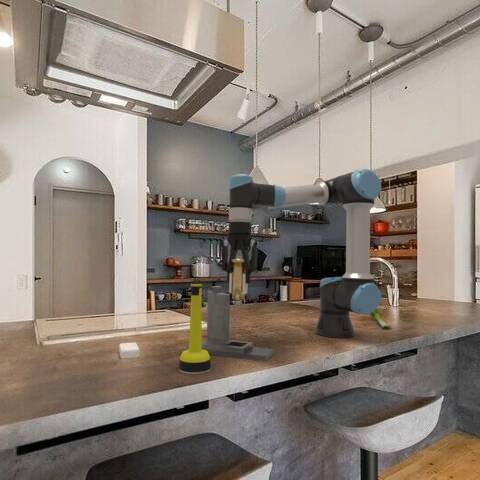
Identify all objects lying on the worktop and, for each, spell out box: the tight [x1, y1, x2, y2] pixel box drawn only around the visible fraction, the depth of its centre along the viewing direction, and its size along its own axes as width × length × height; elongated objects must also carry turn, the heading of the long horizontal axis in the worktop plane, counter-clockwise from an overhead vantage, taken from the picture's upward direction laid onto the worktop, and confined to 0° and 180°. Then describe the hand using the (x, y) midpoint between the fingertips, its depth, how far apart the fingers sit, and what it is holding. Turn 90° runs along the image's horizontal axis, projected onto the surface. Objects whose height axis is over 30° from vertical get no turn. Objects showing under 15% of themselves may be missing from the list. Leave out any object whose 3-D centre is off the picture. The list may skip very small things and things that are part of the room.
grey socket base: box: [202, 338, 274, 362], centre depth 115 cm, size 22×9×3 cm, turn 69°
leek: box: [370, 308, 392, 330], centre depth 172 cm, size 6×7×30 cm
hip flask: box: [206, 285, 231, 340], centre depth 134 cm, size 16×4×20 cm, turn 28°
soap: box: [118, 342, 140, 360], centre depth 112 cm, size 9×6×3 cm, turn 22°
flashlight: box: [178, 278, 212, 375], centre depth 100 cm, size 25×9×9 cm
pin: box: [231, 258, 245, 301], centre depth 117 cm, size 5×5×13 cm
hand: (238, 293), depth 117 cm, fingers closed on pin, 4 cm apart
